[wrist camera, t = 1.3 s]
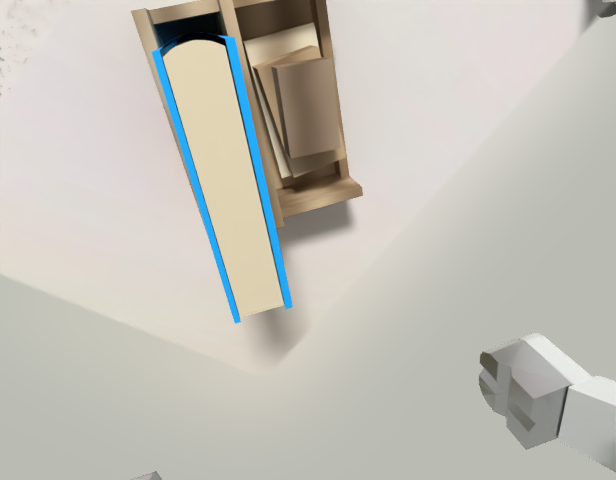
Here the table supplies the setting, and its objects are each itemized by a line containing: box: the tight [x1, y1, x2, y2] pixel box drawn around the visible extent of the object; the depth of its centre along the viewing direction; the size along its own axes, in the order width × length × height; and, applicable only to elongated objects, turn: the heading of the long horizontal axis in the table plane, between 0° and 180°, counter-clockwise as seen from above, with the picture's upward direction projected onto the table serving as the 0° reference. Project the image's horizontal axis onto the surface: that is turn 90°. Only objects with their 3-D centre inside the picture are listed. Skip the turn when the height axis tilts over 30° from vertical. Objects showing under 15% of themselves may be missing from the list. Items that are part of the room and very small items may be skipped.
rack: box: [131, 0, 363, 238], centre depth 41 cm, size 17×21×11 cm
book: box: [152, 32, 293, 323], centre depth 34 cm, size 17×4×25 cm, turn 9°
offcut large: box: [242, 22, 320, 178], centre depth 44 cm, size 7×14×3 cm, turn 13°
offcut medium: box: [252, 45, 347, 178], centre depth 41 cm, size 6×11×3 cm, turn 17°
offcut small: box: [271, 57, 341, 159], centre depth 38 cm, size 5×8×2 cm, turn 8°
